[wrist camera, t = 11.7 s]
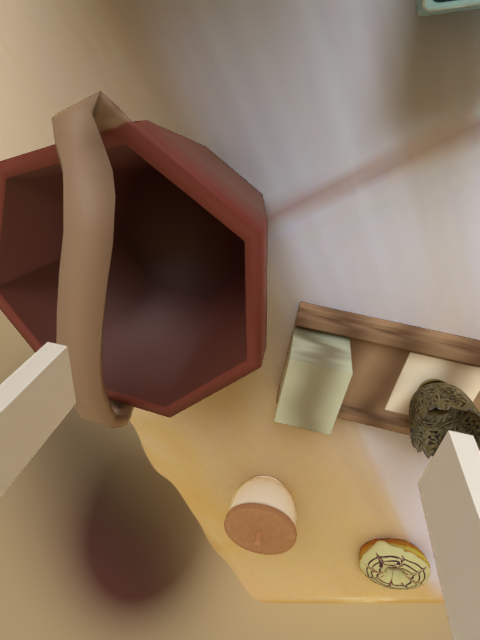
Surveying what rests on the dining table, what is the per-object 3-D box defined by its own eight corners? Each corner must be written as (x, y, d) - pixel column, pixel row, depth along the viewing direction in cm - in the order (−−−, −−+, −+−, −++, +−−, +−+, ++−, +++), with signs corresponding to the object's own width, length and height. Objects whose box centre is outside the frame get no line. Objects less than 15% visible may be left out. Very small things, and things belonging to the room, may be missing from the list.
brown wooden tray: (278, 390, 53) (270, 436, 46) (300, 301, 46) (294, 339, 39) (457, 434, 51) (479, 489, 43) (510, 347, 44) (546, 396, 36)
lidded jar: (221, 481, 65) (206, 535, 57) (266, 455, 60) (256, 510, 52) (267, 517, 67) (258, 573, 59) (313, 494, 62) (311, 553, 54)
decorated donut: (369, 526, 63) (371, 549, 60) (436, 543, 62) (442, 568, 59) (351, 560, 69) (352, 583, 65) (413, 577, 67) (417, 601, 64)
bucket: (141, 62, 37) (-113, 9, 16) (343, 169, 38) (362, 255, 17) (89, 271, 50) (-90, 398, 29) (242, 347, 51) (180, 525, 30)
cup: (416, 419, 49) (430, 471, 42) (387, 378, 47) (397, 425, 40) (478, 398, 46) (504, 450, 39) (450, 352, 44) (472, 399, 37)
